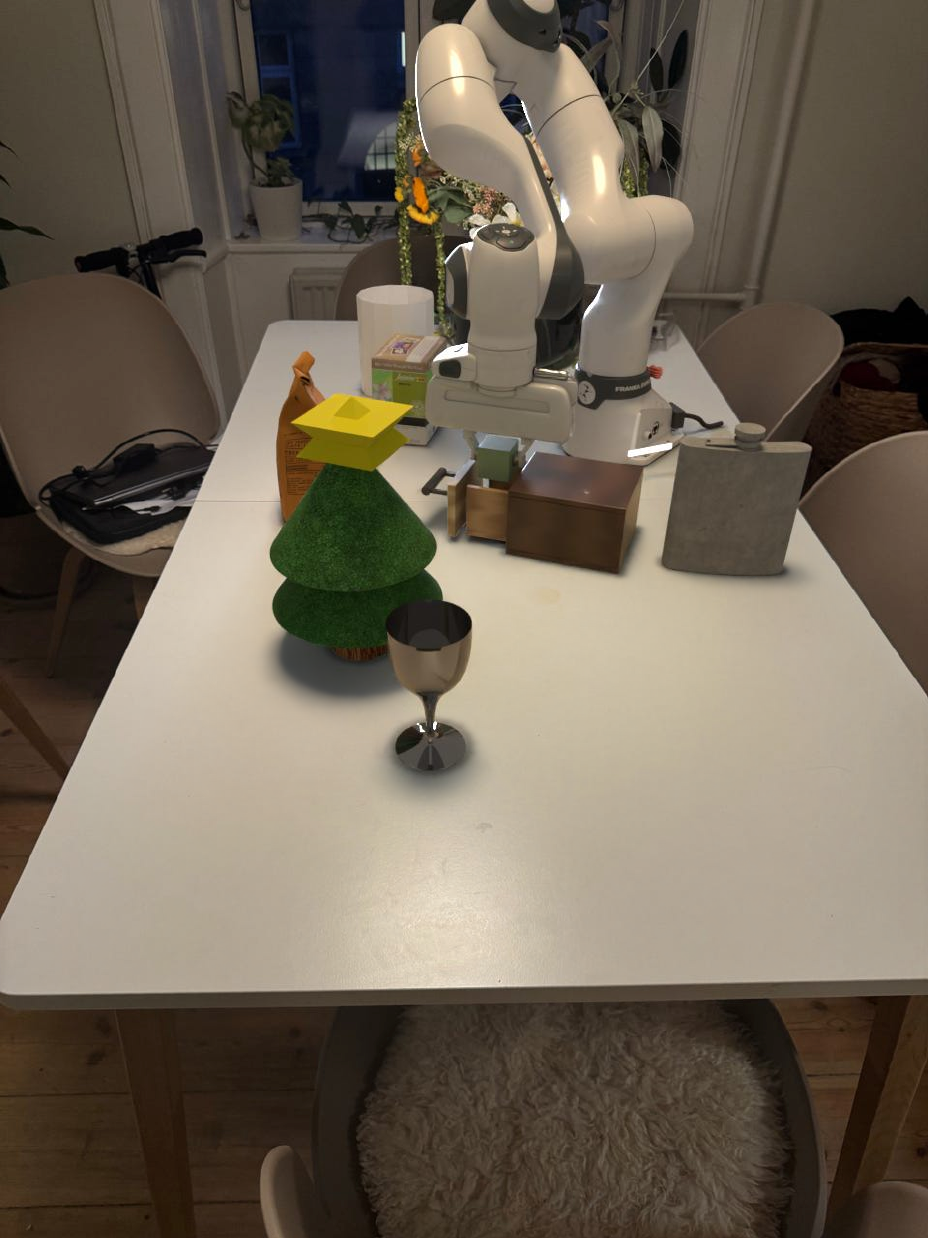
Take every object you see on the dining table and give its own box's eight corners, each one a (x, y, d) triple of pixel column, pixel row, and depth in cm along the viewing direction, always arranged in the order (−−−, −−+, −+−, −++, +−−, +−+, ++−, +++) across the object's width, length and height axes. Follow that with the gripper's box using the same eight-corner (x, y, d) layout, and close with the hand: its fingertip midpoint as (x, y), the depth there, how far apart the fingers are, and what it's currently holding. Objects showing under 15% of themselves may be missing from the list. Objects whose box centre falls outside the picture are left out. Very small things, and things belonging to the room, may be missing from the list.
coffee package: (351, 488, 137) (341, 346, 124) (345, 526, 127) (334, 376, 114) (287, 488, 136) (271, 346, 124) (275, 526, 126) (257, 376, 114)
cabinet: (505, 553, 120) (508, 490, 115) (531, 511, 131) (535, 450, 126) (618, 574, 116) (626, 509, 111) (635, 528, 127) (644, 466, 122)
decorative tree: (330, 585, 113) (309, 353, 96) (468, 618, 107) (472, 377, 90) (245, 668, 98) (203, 412, 82) (399, 712, 93) (388, 446, 76)
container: (371, 374, 181) (367, 283, 171) (440, 378, 180) (440, 286, 169) (354, 398, 169) (349, 302, 159) (428, 403, 168) (427, 306, 158)
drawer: (414, 529, 124) (413, 479, 120) (444, 493, 134) (444, 445, 129) (547, 553, 119) (551, 501, 114) (569, 513, 129) (573, 464, 124)
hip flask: (778, 563, 119) (813, 422, 108) (785, 578, 116) (821, 435, 104) (660, 556, 120) (682, 416, 109) (662, 571, 117) (685, 429, 106)
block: (486, 464, 124) (487, 434, 122) (517, 469, 123) (518, 439, 121) (476, 477, 121) (477, 447, 118) (508, 482, 120) (509, 451, 117)
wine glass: (390, 721, 91) (384, 600, 83) (466, 718, 92) (468, 597, 83) (391, 775, 85) (385, 650, 76) (473, 771, 85) (476, 646, 77)
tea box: (428, 447, 150) (427, 361, 142) (372, 442, 152) (367, 356, 144) (447, 415, 163) (447, 334, 154) (395, 411, 164) (392, 331, 156)
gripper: (585, 365, 113) (576, 464, 121) (436, 347, 118) (437, 443, 126) (574, 380, 108) (566, 483, 116) (419, 361, 113) (421, 460, 121)
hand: (497, 462), depth 121 cm, fingers closed on block, 4 cm apart
